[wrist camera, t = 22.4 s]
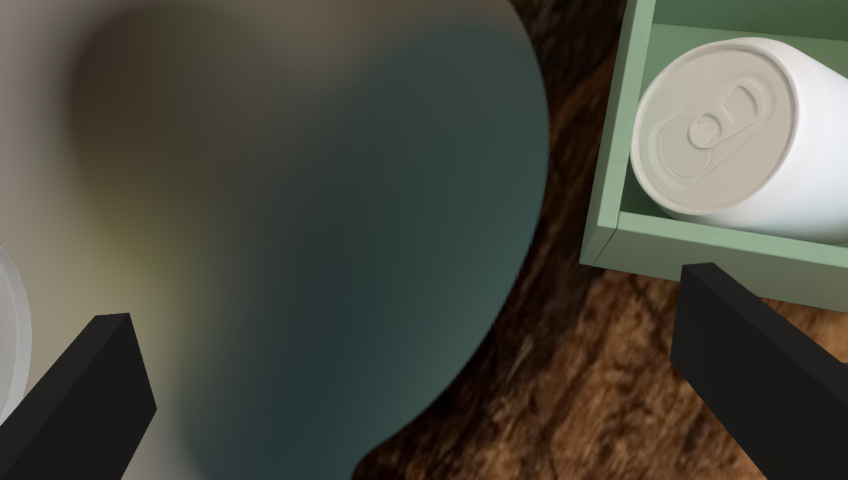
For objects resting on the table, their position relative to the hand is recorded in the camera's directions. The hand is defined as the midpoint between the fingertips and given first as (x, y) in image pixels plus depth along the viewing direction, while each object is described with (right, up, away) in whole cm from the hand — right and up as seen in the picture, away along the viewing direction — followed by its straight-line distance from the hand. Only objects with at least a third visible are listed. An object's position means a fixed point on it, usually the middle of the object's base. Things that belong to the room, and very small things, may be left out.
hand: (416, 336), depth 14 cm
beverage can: (+22, +6, +17) cm, 28 cm away
